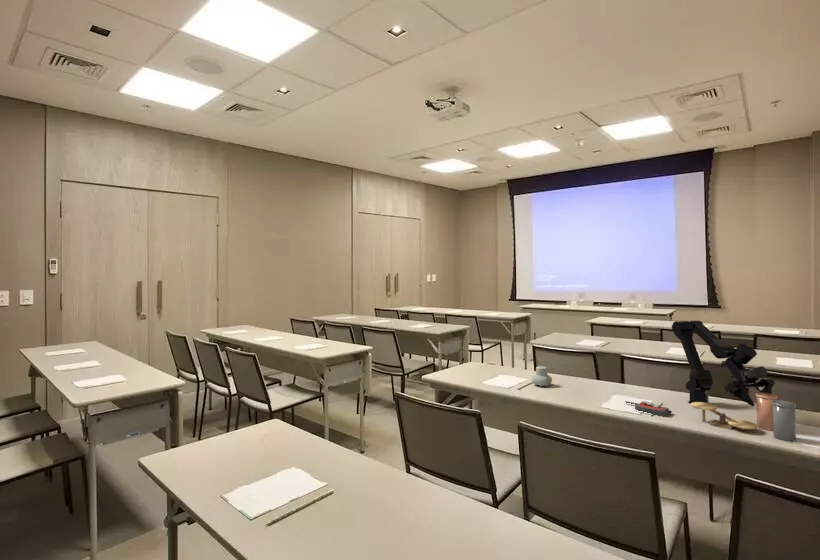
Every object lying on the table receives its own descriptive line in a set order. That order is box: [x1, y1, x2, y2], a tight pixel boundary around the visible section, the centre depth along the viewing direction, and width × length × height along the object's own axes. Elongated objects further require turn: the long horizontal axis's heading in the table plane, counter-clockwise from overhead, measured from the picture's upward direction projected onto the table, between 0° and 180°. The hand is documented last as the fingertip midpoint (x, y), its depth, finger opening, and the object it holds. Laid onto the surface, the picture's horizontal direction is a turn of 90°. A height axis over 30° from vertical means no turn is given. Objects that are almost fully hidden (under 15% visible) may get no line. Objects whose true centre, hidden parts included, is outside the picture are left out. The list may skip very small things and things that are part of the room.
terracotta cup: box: [755, 392, 778, 432], centre depth 172 cm, size 7×7×13 cm
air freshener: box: [531, 365, 553, 387], centre depth 243 cm, size 11×8×10 cm
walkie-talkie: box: [624, 400, 673, 418], centre depth 197 cm, size 9×4×20 cm
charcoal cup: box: [772, 399, 797, 442], centre depth 162 cm, size 7×7×13 cm
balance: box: [690, 402, 757, 431], centre depth 176 cm, size 22×9×7 cm, turn 39°
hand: (763, 404), depth 173 cm, fingers open, 9 cm apart
